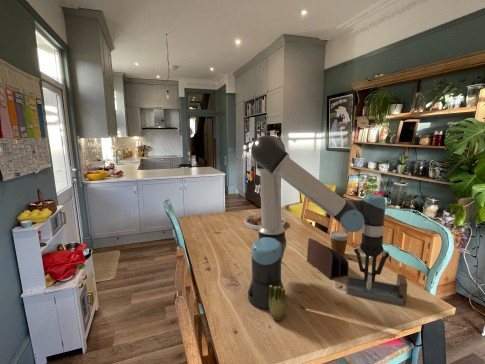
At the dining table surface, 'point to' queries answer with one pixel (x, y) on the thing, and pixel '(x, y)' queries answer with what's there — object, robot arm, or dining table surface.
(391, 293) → the channel
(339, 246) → the disposable coffee cup
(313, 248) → the letter holder
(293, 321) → the dining table surface
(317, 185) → the robot arm
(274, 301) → the fennel bulb
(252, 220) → the bowl
